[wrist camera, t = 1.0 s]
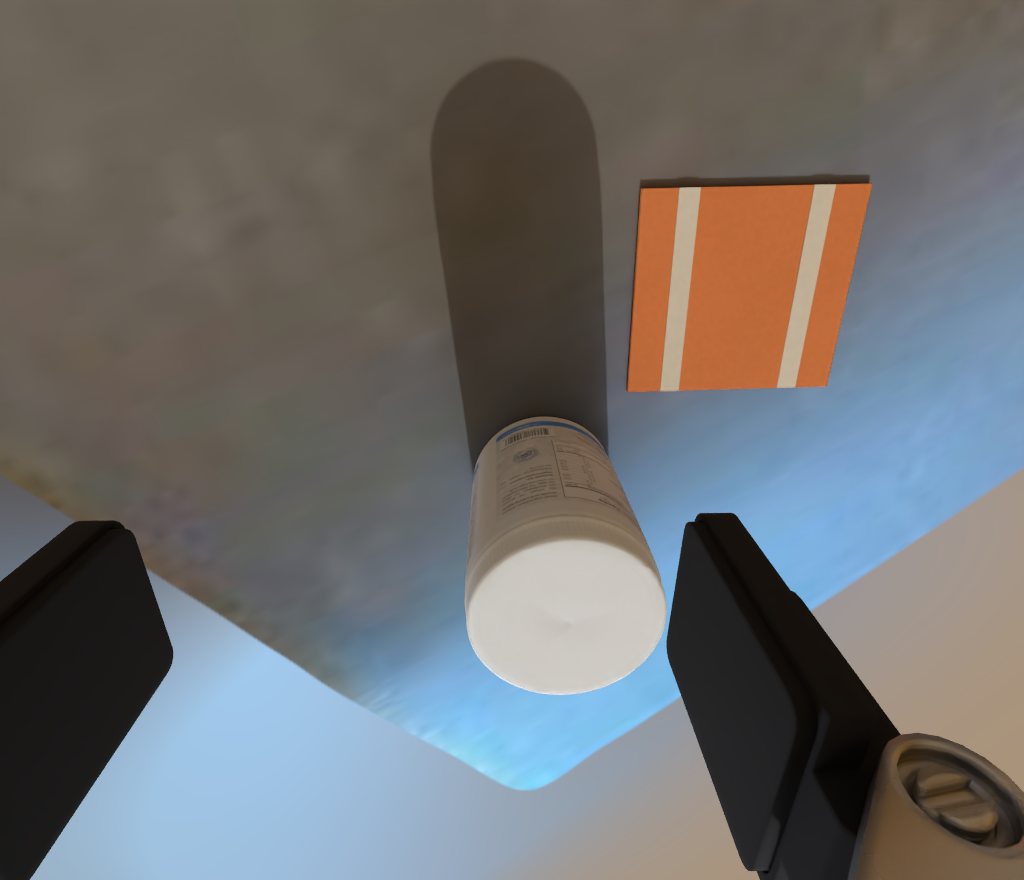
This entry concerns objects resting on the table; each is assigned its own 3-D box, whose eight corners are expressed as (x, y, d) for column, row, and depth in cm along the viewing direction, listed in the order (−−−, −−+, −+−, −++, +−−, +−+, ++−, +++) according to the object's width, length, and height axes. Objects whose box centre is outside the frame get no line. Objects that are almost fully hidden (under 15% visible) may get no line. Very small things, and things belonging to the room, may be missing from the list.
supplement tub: (560, 552, 41) (591, 726, 28) (448, 496, 39) (423, 656, 26) (638, 451, 38) (714, 594, 25) (520, 384, 36) (534, 501, 22)
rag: (640, 188, 31) (642, 188, 31) (869, 183, 31) (873, 183, 31) (626, 390, 36) (627, 392, 36) (824, 384, 36) (827, 386, 36)
